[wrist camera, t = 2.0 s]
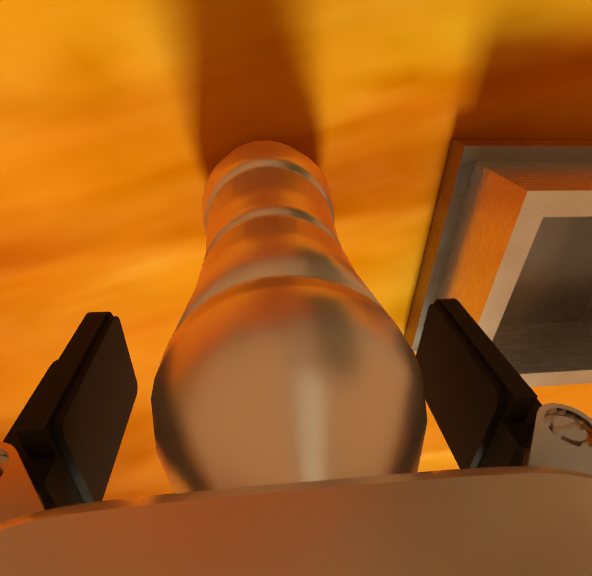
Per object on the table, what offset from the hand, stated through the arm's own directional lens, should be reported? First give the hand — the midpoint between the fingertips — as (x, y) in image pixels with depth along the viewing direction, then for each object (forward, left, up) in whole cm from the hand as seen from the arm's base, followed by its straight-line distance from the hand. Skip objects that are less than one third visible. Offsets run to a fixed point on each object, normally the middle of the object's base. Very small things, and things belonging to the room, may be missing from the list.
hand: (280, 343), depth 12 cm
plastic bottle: (-1, 0, -12) cm, 12 cm away
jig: (+3, +17, -12) cm, 21 cm away
